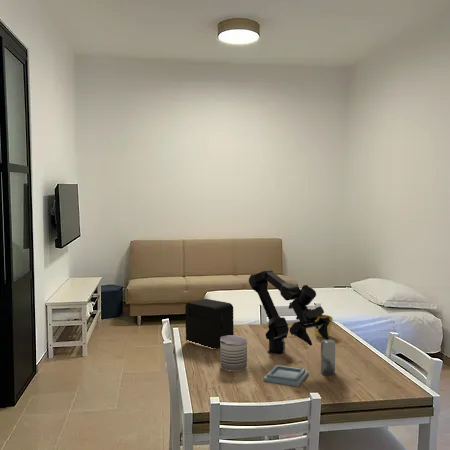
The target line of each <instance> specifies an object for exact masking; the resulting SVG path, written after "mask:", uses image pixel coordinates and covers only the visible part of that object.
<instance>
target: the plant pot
mask: <svg viewBox="0 0 450 450" xmlns="http://www.w3.org/2000/svg"><path fill="white" fill-rule="evenodd" d="M322 317H328V318H329V319H330V321H331V322H330V323H329V325H328V326H327V332H328V337H330V331H331V327H332V325H333V320H334V319H333V316H331V315H328V314H322V316H319V317H317V318H318V319H317V320H315V322H317V321H318V320H319V319H320V318H322ZM313 329H314V334H315V337H317V338H323V337H322V336H321V334H320V333H319V332H318V329H317V328H316V327H313Z"/></svg>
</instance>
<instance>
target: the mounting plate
mask: <svg viewBox="0 0 450 450" xmlns="http://www.w3.org/2000/svg"><path fill="white" fill-rule="evenodd" d="M308 375H309V371H308V370H306V368H299V367H295V366H294V367H292V366H286V365H279V364H276V365H275V366H274V367H272V368H271V370H270V371H268V373H267V374H265V376H263V378H262V380H263V382H268V383H275V384H281V385H286V386H294V387H299V386H300V385H301V384H302V383H303V381H304V380H305V379H306V377H307V376H308Z"/></svg>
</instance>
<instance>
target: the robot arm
mask: <svg viewBox="0 0 450 450" xmlns="http://www.w3.org/2000/svg"><path fill="white" fill-rule="evenodd" d="M248 283H249V285H250V287H251V289H252V290H253V291H254V292H256V293H257V295H258V297H259V299H260V302H261V305H262V307H263V309H264V312H265V314H266V316H267V318H268V330H267V331H266V333H265V339H266V340H268V350H267V353H269V354H276V355H281V354H283V353H284V352H285V351H286V342H285V339H287V338H288V334H291V336H294V337H297V338H298V339H301V340H302V341H303V342H305V343H306V344H307V345H309V346H312V345H313V343H312V340H311V338H310V336H309V334H308V332H307V329H311V328H314V327H316V328H317V329H318V332H319V333H320V334H321V336H322V337H321V338H323V340H330V338H329V337H330V336H328V332H327V326H328V325H329V323H330V322H331V321H330V319H329V318H328V317H322V318H320V319H319V320H318V321H317V322H315V320H317V319H318V318H317V317H319V316H322V315H324V313H325V310H324V308H323V307H322V306H317V307H315V308H314V309H311V308H308V306H309V305H310V304H311V303H312V301H314V299H315V298H316V296H317V291H316V290H315V289H313V288H312V287H310V286H309V285H308V284H305V285H304V284H303V285H302V287H301V288H300V287H299V286H297V285H296V284H294V283H293V284H292V283H288V282H286V281H285V280H284V279H283V278H281V276H279V275H277V274H276V273H274V271H273V270H272V269H267V270H266V269H265V270H261V272H258V273H256V274H251V275H249V277H248ZM269 284H271V286H273V287H274V288H276V289H277V290H278V291H279V292H280V293H279V294H280V296H281V297H282V298H283V299H284V300H285V301H291V302H289V305H288V309H289V310H291V309H292V310H293V312H294V314H295V316H296V317H295V320H297V321H295V322H294V323H293V324H292V325H291V326H290V327H289V324H288V322H287V319H286V318H285V317H283V316H282V317H281V316H280V315H279V313H278V311H277V307H276V306H275V304H274V301H273V298H272V297H271V295H270V292H269V289H268V286H269Z"/></svg>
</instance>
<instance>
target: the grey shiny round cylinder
mask: <svg viewBox="0 0 450 450" xmlns="http://www.w3.org/2000/svg"><path fill="white" fill-rule="evenodd" d="M320 374H321V375H323V376H324V377H326V376H327V377H331V376H335V375H336V341H335V340H332V339H329V340H325V339H321V341H320Z"/></svg>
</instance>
